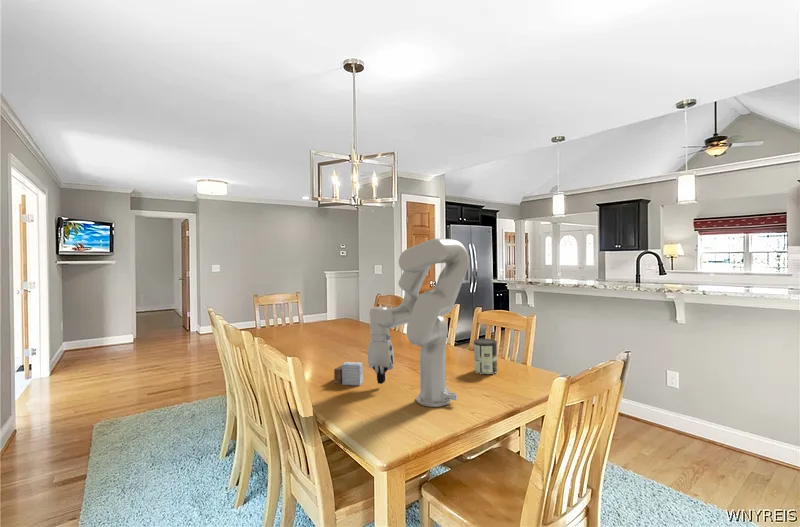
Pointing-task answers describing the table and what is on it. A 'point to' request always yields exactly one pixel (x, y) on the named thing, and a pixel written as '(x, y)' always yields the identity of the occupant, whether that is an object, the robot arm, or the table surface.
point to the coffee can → (485, 356)
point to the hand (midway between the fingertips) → (381, 382)
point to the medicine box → (352, 373)
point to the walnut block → (338, 375)
